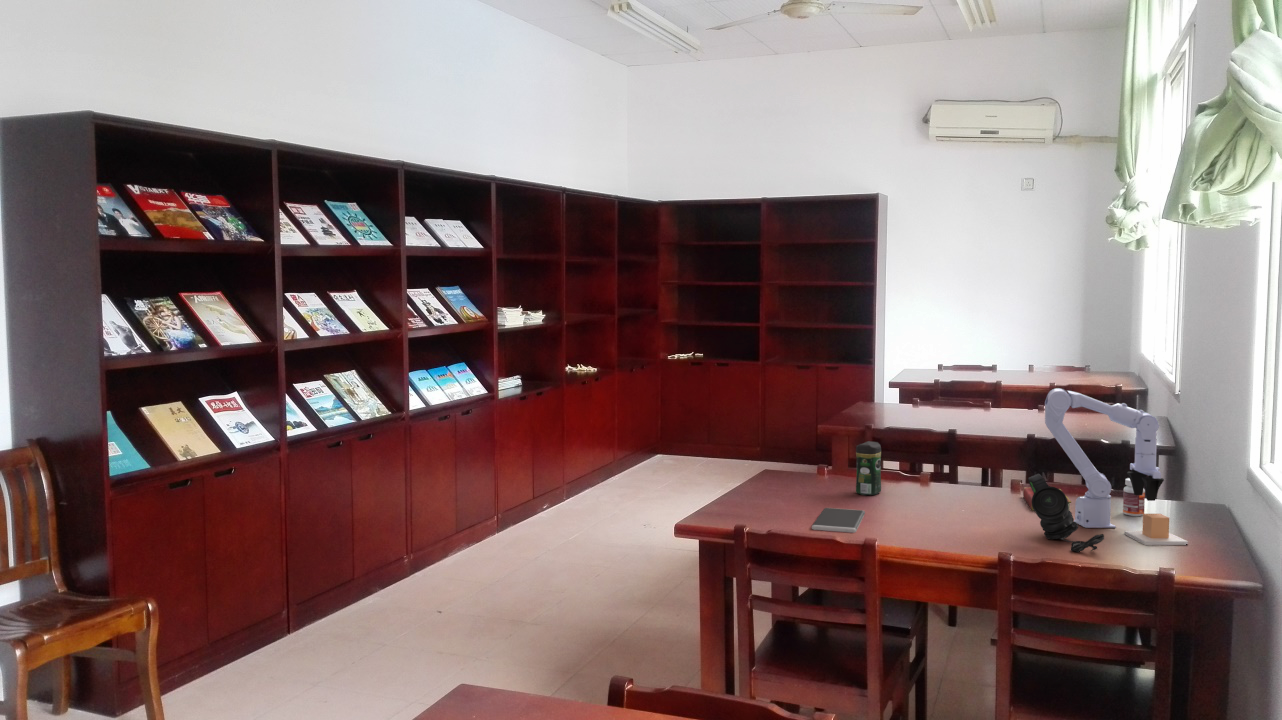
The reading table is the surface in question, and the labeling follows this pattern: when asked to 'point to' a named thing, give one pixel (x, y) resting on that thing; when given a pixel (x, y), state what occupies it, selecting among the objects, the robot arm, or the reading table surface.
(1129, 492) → the pill bottle
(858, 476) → the coffee jar
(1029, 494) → the hardcover book
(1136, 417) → the robot arm
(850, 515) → the smartphone
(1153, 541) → the post plate
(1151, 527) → the tan wooden cube
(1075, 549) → the headset
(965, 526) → the reading table surface
